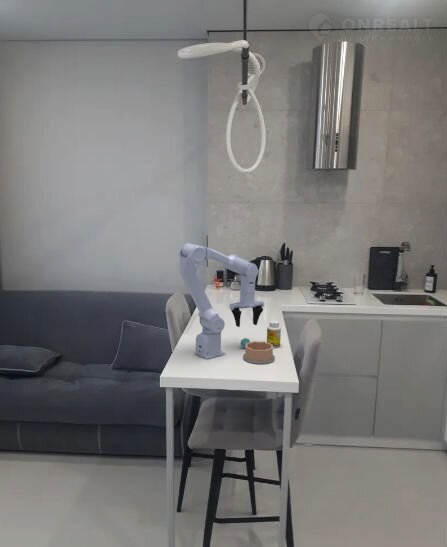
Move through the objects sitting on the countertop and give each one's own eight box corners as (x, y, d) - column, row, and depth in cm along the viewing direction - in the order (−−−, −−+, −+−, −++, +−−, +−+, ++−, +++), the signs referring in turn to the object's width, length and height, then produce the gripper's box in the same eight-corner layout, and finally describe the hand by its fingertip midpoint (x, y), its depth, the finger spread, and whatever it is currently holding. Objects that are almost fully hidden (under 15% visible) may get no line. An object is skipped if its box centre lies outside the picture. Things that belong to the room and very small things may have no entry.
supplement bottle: (263, 345, 189) (264, 321, 187) (273, 342, 192) (274, 319, 190) (272, 349, 184) (273, 324, 183) (282, 346, 188) (284, 322, 186)
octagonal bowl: (258, 366, 165) (258, 353, 164) (236, 357, 174) (236, 344, 173) (281, 359, 173) (281, 347, 172) (259, 351, 182) (259, 338, 181)
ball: (244, 350, 182) (245, 340, 182) (238, 347, 185) (238, 338, 185) (252, 348, 185) (252, 338, 184) (245, 345, 188) (245, 336, 187)
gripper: (235, 295, 175) (234, 329, 177) (268, 293, 181) (267, 326, 183) (227, 291, 181) (226, 325, 184) (260, 289, 187) (258, 321, 190)
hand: (246, 325), depth 184 cm, fingers open, 7 cm apart
